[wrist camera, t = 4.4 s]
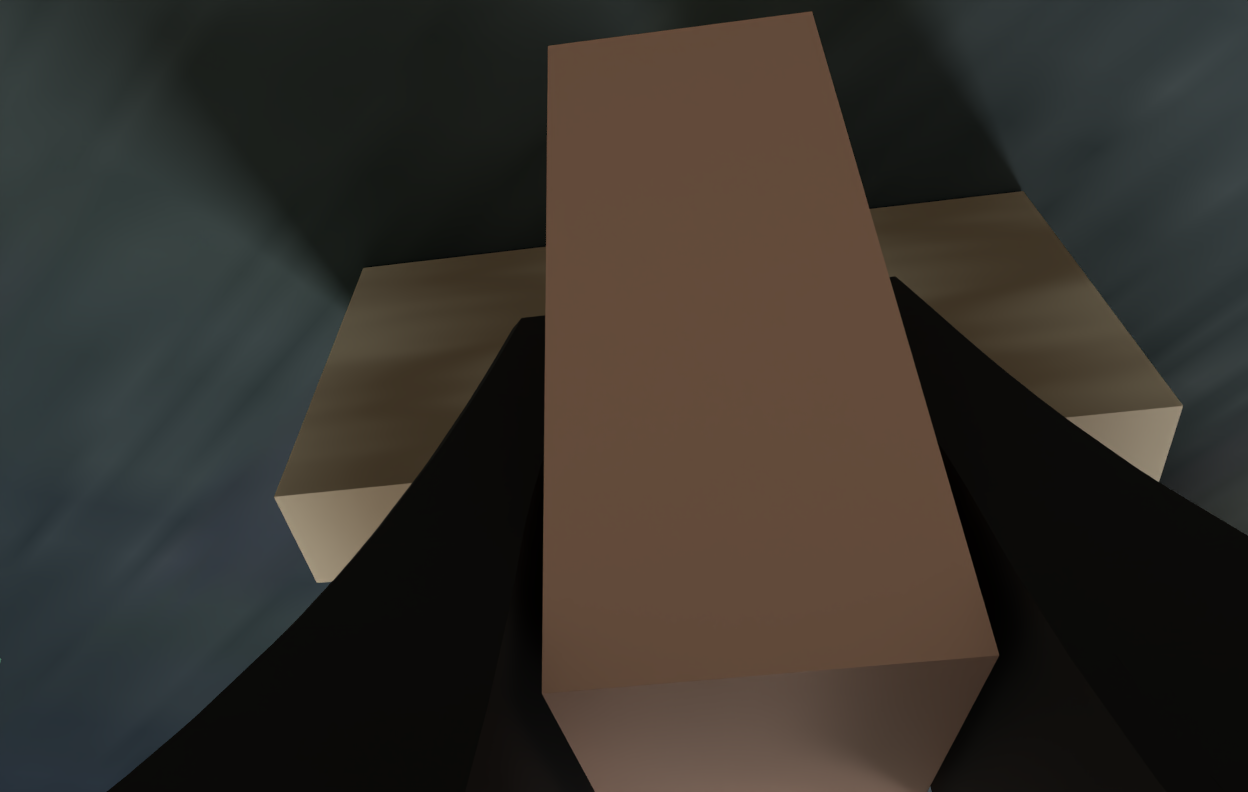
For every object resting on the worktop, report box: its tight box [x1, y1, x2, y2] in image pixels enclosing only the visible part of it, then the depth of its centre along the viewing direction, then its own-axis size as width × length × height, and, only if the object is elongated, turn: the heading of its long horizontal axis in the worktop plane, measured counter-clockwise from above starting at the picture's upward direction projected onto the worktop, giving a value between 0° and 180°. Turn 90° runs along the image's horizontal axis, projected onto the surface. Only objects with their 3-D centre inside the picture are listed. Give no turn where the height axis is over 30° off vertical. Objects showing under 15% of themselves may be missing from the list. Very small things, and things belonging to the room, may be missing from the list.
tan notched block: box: [274, 191, 1183, 583], centre depth 15 cm, size 12×2×6 cm, turn 97°
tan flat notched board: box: [542, 11, 999, 792], centre depth 12 cm, size 12×2×6 cm, turn 7°
